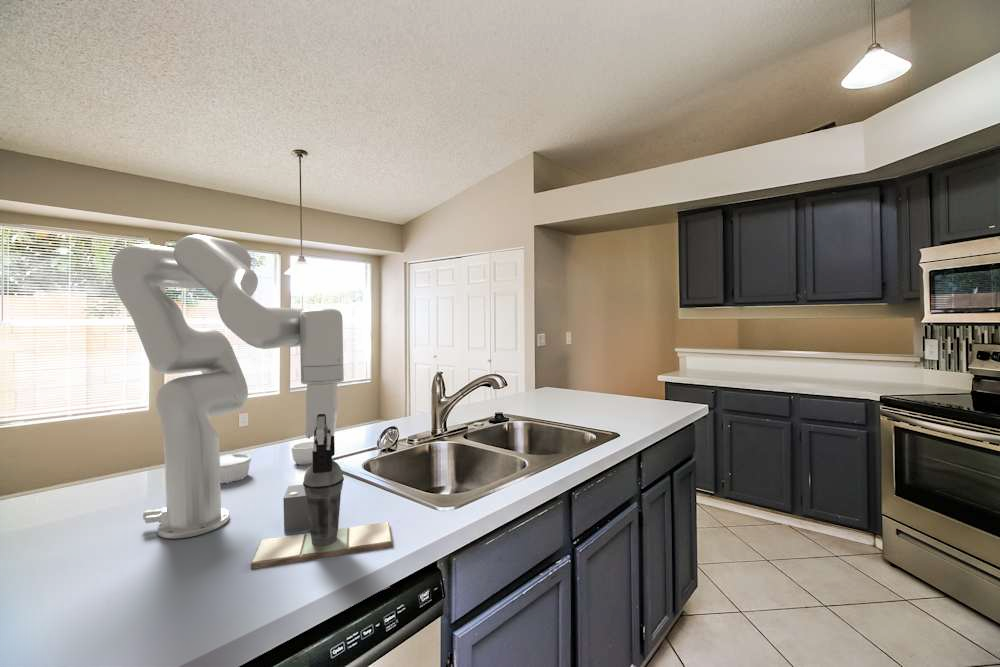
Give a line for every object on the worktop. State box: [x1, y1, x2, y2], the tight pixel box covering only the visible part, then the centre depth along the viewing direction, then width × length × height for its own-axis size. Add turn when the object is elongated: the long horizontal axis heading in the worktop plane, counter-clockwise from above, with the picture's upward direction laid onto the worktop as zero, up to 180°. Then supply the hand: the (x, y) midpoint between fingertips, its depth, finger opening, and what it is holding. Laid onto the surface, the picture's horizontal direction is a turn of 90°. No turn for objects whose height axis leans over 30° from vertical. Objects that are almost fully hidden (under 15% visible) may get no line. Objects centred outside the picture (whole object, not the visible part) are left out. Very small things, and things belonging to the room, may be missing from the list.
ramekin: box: [220, 453, 252, 484], centre depth 123 cm, size 11×11×5 cm
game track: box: [250, 521, 393, 570], centre depth 86 cm, size 24×9×1 cm, turn 108°
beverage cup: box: [302, 459, 345, 546], centre depth 86 cm, size 7×7×20 cm
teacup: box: [291, 441, 314, 466], centre depth 137 cm, size 10×8×5 cm
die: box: [283, 484, 310, 533], centre depth 96 cm, size 7×7×7 cm
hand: (324, 463), depth 86 cm, fingers open, 9 cm apart
